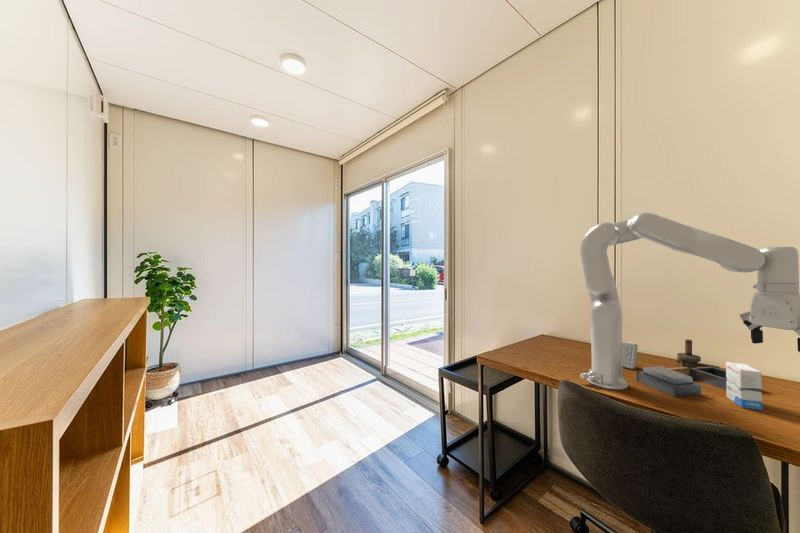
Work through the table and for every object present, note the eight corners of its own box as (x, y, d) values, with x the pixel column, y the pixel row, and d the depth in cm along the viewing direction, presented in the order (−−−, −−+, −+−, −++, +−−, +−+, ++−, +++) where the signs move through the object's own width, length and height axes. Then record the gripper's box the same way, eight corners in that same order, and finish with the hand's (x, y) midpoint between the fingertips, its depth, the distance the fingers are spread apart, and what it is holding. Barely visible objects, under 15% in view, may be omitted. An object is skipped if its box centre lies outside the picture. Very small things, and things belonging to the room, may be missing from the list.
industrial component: (677, 368, 125) (677, 340, 125) (674, 363, 131) (674, 336, 131) (709, 373, 120) (709, 343, 119) (705, 368, 125) (704, 339, 125)
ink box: (763, 411, 90) (763, 372, 90) (740, 407, 92) (740, 369, 92) (746, 399, 97) (745, 363, 97) (725, 396, 100) (725, 361, 99)
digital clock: (590, 360, 138) (590, 337, 138) (603, 357, 142) (602, 335, 141) (629, 371, 123) (628, 346, 123) (642, 368, 127) (641, 343, 127)
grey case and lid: (674, 397, 100) (674, 380, 99) (636, 380, 113) (636, 366, 113) (758, 390, 104) (758, 374, 103) (711, 375, 117) (711, 361, 117)
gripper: (730, 287, 95) (732, 340, 95) (812, 291, 78) (814, 357, 78) (749, 286, 96) (751, 339, 97) (834, 290, 79) (836, 354, 79)
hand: (779, 347), depth 87 cm, fingers open, 9 cm apart
